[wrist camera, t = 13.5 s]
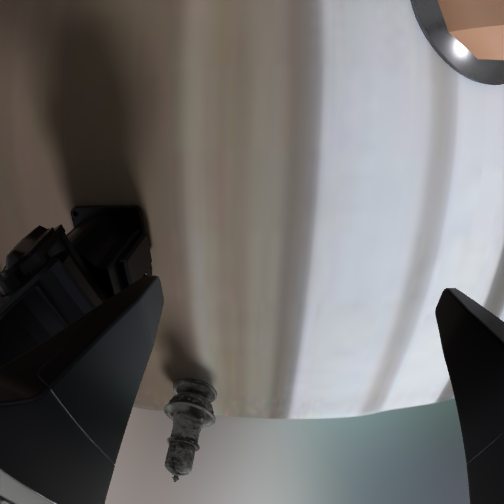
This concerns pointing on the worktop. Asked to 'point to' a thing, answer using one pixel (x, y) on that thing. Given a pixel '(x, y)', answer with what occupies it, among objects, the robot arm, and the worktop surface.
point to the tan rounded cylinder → (476, 25)
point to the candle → (455, 46)
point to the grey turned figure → (187, 423)
